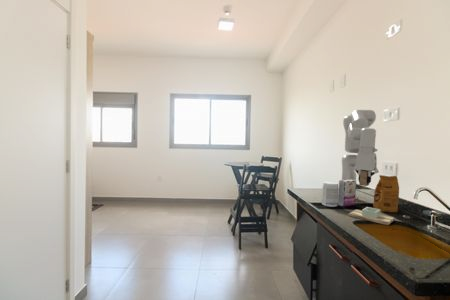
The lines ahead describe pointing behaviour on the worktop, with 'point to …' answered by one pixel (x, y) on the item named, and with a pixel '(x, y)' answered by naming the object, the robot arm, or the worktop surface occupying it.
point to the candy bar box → (347, 192)
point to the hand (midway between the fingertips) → (364, 182)
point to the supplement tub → (330, 194)
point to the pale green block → (371, 212)
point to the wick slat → (363, 178)
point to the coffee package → (387, 194)
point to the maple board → (381, 219)
